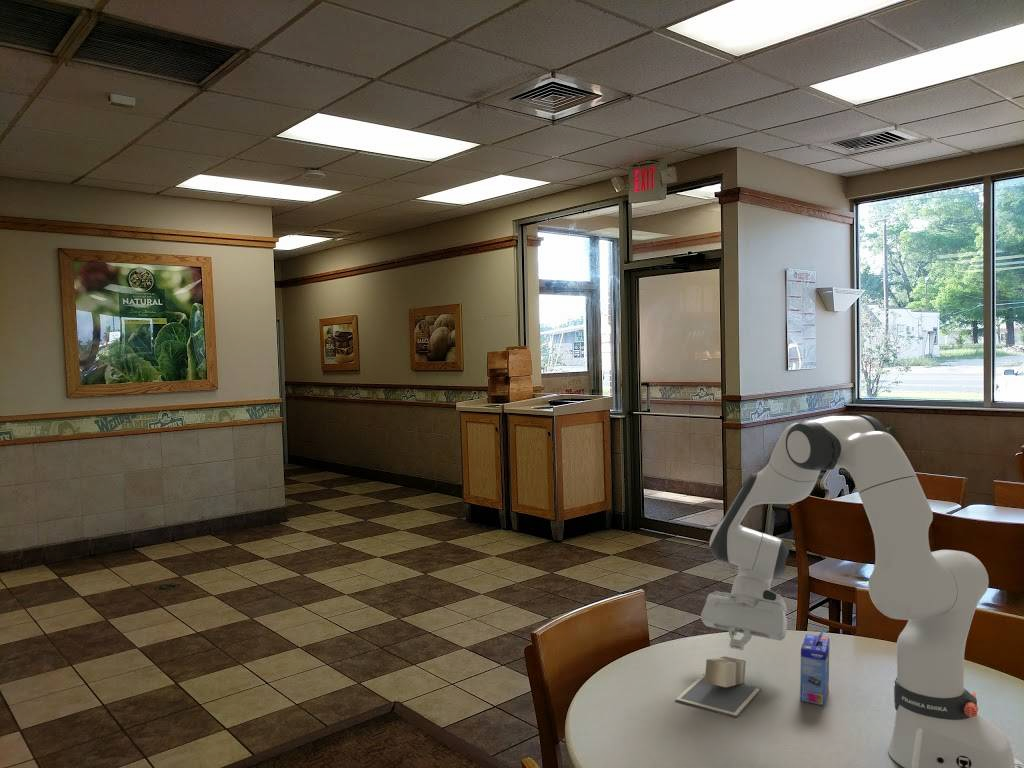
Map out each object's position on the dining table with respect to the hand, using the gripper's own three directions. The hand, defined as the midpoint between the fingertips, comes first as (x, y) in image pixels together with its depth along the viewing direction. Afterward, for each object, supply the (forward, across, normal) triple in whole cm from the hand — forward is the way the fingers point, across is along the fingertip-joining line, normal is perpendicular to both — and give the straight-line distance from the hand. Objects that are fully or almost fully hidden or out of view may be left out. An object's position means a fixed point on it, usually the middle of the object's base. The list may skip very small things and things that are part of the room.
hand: (736, 648), depth 179 cm
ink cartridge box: (+5, +18, +6) cm, 19 cm away
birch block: (+4, 0, +3) cm, 5 cm away
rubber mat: (+13, 0, -3) cm, 13 cm away
